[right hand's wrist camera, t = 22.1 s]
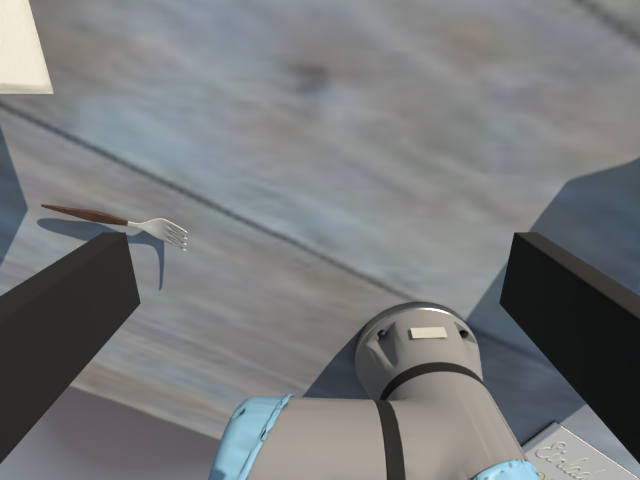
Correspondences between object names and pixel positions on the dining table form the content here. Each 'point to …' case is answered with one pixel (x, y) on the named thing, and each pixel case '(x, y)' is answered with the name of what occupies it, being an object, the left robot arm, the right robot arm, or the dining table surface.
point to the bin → (21, 52)
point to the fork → (127, 223)
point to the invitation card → (570, 458)
